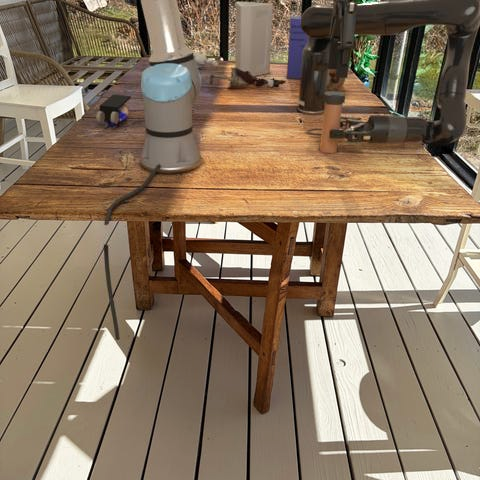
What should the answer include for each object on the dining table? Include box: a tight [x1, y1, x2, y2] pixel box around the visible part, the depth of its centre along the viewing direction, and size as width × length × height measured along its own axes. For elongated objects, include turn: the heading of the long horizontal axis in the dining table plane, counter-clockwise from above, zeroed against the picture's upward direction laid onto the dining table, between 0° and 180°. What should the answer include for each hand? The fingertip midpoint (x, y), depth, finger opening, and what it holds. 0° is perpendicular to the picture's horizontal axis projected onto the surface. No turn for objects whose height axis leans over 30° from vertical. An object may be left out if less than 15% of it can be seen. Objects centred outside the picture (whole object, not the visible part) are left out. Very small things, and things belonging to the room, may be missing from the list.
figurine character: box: [95, 94, 132, 130], centre depth 148 cm, size 7×8×15 cm
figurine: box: [209, 66, 287, 89], centre depth 190 cm, size 24×8×30 cm
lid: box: [323, 90, 346, 104], centre depth 125 cm, size 6×6×2 cm
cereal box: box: [286, 16, 308, 80], centre depth 203 cm, size 17×5×24 cm, turn 86°
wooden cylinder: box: [319, 103, 344, 154], centre depth 129 cm, size 5×5×15 cm
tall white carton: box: [234, 1, 274, 77], centre depth 210 cm, size 19×15×28 cm
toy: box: [193, 51, 219, 69], centre depth 223 cm, size 24×25×7 cm
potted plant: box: [327, 69, 346, 91], centre depth 191 cm, size 13×9×15 cm
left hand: (337, 73), depth 122 cm, fingers open, 9 cm apart
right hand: (327, 128), depth 130 cm, fingers open, 8 cm apart
